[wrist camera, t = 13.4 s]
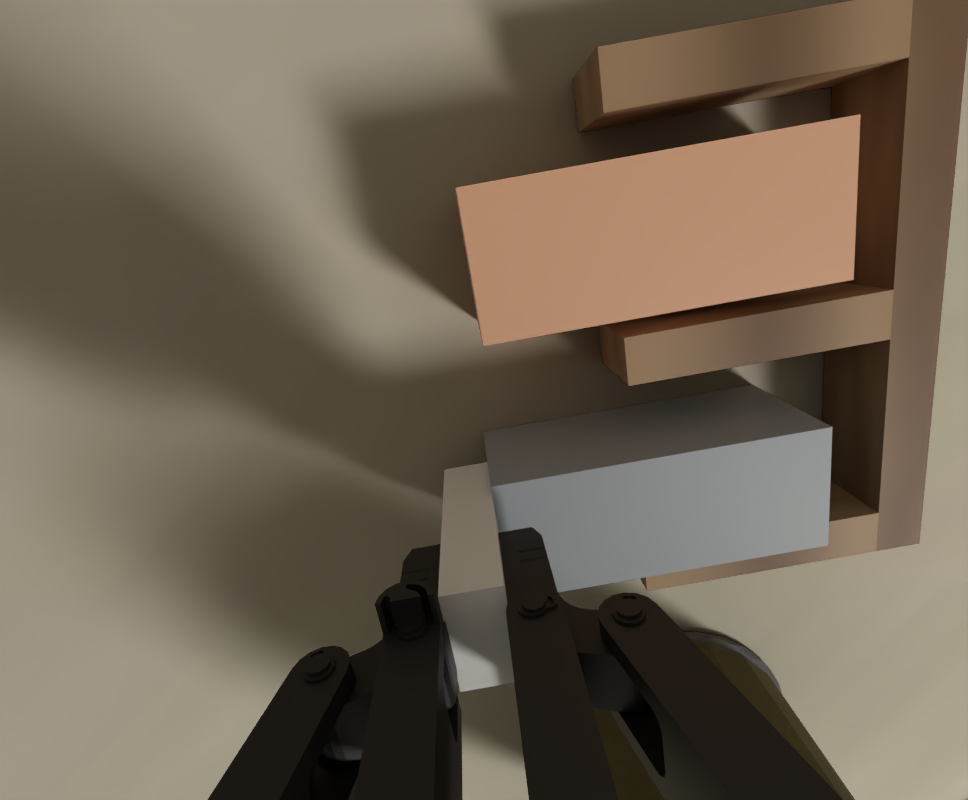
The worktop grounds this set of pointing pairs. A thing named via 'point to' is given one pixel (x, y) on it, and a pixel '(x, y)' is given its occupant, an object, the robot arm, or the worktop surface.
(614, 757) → the canister
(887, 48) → the comb rack
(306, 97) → the worktop surface
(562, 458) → the slate bar
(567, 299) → the terracotta bar
